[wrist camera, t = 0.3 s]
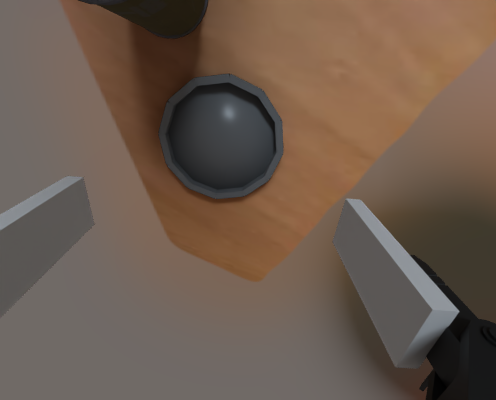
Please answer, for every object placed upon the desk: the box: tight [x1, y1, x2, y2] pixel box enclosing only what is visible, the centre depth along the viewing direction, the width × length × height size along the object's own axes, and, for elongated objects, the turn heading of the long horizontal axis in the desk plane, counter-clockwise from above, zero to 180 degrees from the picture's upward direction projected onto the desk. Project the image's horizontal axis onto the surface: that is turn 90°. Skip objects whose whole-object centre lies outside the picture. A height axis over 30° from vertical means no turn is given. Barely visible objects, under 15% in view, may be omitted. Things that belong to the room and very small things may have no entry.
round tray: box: [158, 74, 283, 199], centre depth 37 cm, size 18×18×2 cm
